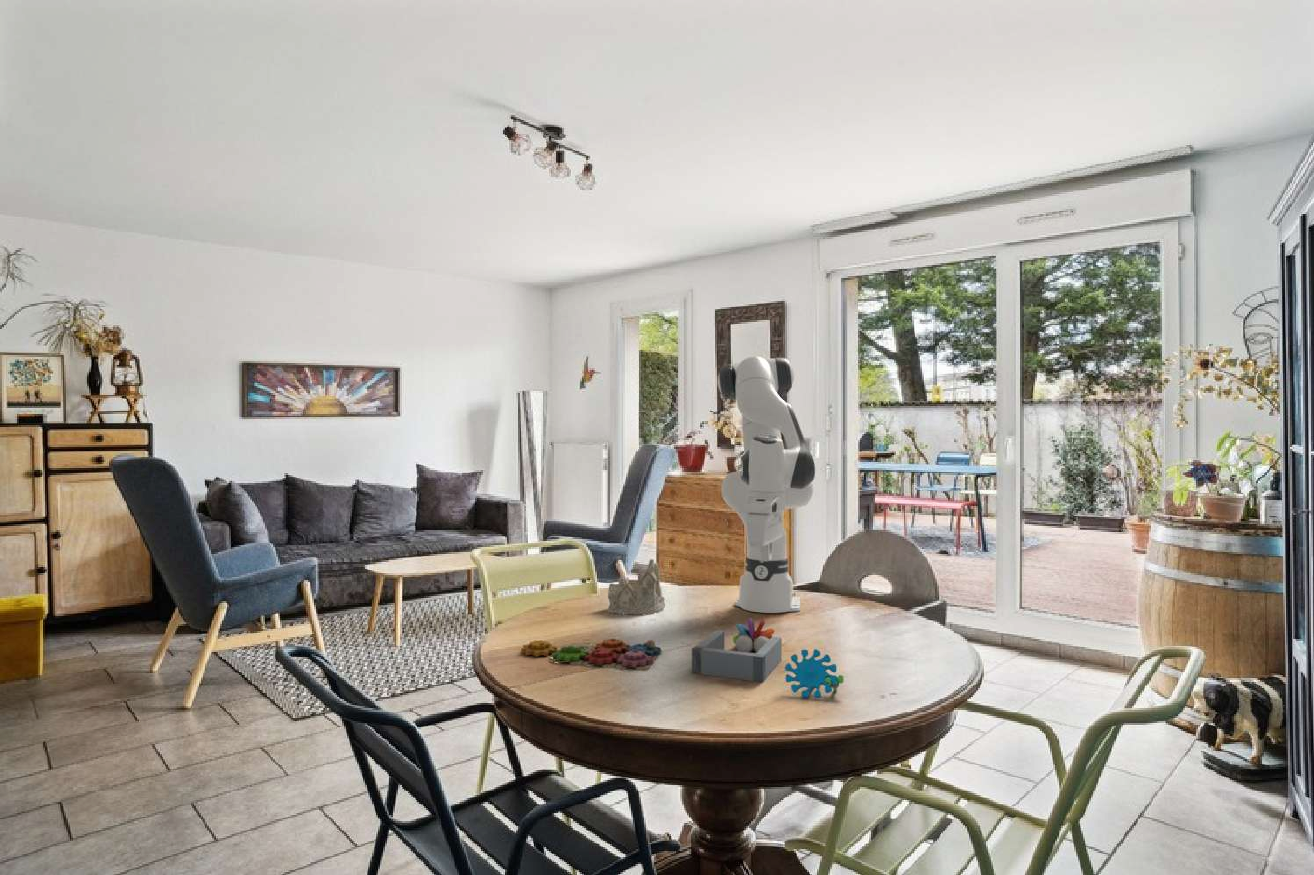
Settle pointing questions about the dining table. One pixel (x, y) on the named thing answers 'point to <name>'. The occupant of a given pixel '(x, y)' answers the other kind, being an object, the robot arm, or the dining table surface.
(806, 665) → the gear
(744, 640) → the multicoloured rounded-lobe toy
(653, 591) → the ceramic cottage
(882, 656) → the dining table surface
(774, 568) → the robot arm
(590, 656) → the gear puzzle
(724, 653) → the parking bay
